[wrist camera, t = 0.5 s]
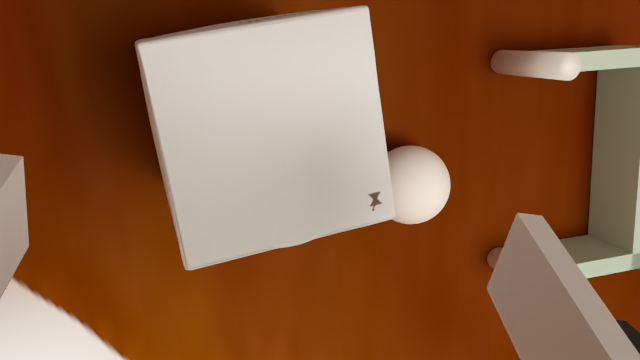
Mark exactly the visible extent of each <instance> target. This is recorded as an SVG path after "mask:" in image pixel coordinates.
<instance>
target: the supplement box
mask: <svg viewBox="0 0 640 360" xmlns="http://www.w3.org/2000/svg"><path fill="white" fill-rule="evenodd" d="M135 49H136V54H137V59H138V63H139V68H140V74H141V79H142V84H143V89H144V94H145V100H146V104H147V110H148V115H149V119H150V124H151V129H152V133H153V138H154V142H155V147H156V151H157V156H158V160H159V165H160V169H161V174H162V178H163V182H164V186H165V190H166V194H167V198H168V202H169V206H170V210H171V214H172V218H173V222H174V226H175V230H176V234H177V238H178V243H179V247H180V252H181V256H182V261H183V265H184V268H185V269H186V270H194V269H198V268H202V267H206V266H210V265H214V264H218V263H222V262H225V261H229V260H233V259H237V258H241V257H245V256H249V255H253V254H257V253H261V252H265V251H269V250H273V249H277V248H283V247H291V246H295V245H300V244H303V243H305V242H308V241H310V240H313V239H316V238H320V237H324V236H328V235H331V234H335V233H339V232H343V231H347V230H351V229H356V228H360V227H364V226H368V225H372V224H375V223H379V222H383V221H387V220H390V219H393V218H395V217H396V211H395V204H394V197H393V189H392V182H391V175H390V168H389V160H388V153H387V146H386V139H385V131H384V124H383V117H382V110H381V102H380V95H379V88H378V80H377V71H376V63H375V54H374V46H373V38H372V31H371V24H370V16H369V9H368V7H367V6H354V7H344V8H335V9H325V10H315V11H307V12H298V13H290V14H282V15H274V16H267V17H260V18H253V19H245V20H238V21H233V22H228V23H222V24H216V25H211V26H206V27H200V28H195V29H190V30H185V31H180V32H175V33H170V34H165V35H161V36H156V37H151V38H145V39H139V40H137V41H136V42H135Z"/></svg>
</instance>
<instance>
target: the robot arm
mask: <svg viewBox="0 0 640 360" xmlns="http://www.w3.org/2000/svg"><path fill="white" fill-rule="evenodd" d="M28 247H29V239H28V223H27V208H26V192H25V176H24V161H23V156H16V155H7V154H0V298H1V296H2V295H3V293H4V291H5V289H6V287H7V285H8V284H9V282H10V280H11V278H12V276H13V274H14V273H15V271H16V269H17V267H18V265H19V263H20V261H21V260H22V258H23V256H24V254H25V252H26V250H27V249H28ZM487 290H488V292H489V294H490V297H491V299H492V301H493V303H494V305H495V307H496V309H497V311H498V313H499V315H500V318H501V320H502V322H503V324H504V326H505V328H506V330H507V332H508V334H509V336H510V339H511V341H512V343H513V345H514V347H515V349H516V351H517V353H518V355H519V357H520V360H640V333H639V332H638V331H637V330H636V329H634V328H633V327H632V326H631V325H630V324H629V323H627V322H626V321H620V320H615V319H614V317H613V316H612V314H611V313H610V311H609V310H608V309H607V307H606V306H605V304H604V303H603V302H602V300H601V299H600V297H599V296H598V294H597V293H596V292H595V290H594V289H593V287H592V286H591V284H590V283H589V282H588V280H587V279H586V277H585V276H584V274H583V273H582V272H581V270H580V269H579V267H578V266H577V264H576V263H575V262H574V260H573V259H572V257H571V256H570V255H569V253H568V252H567V250H566V249H565V247H564V246H563V245H562V243H561V242H560V240H559V239H558V237H557V236H556V235H555V233H554V232H553V230H552V229H551V227H550V226H549V225H548V223H547V222H546V220H545V219H544V218H543V216H540V215H532V214H523V213H517V214H516V217H515V219H514V222H513V224H512V227H511V229H510V232H509V234H508V236H507V239H506V241H505V244H504V246H503V249H502V251H501V254H500V256H499V259H498V261H497V264H496V266H495V268H494V271H493V273H492V276H491V278H490V281H489V283H488V286H487Z"/></svg>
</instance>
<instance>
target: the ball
mask: <svg viewBox="0 0 640 360" xmlns="http://www.w3.org/2000/svg"><path fill="white" fill-rule="evenodd" d="M388 160H389V168H390V175H391V182H392V189H393V197H394V204H395V211H396V217H395V218H393V219H392V220H394V221H397V222H399V223H404V224H418V223H422V222H425V221H427V220H429V219H431V218H433V217H434V216H436V215H437V214H438V213H439V212H440V211H441V210H442V208H443V207H444V205H445V204H446V202H447V200H448V197H449V193H450V177H449V173H448V170H447V168H446V166H445V164H444V163H443V161H442V160H441V159H440V158H439V157H438V156H437V155H436V154H435V153H433V152H432V151H430V150H428V149H426V148H423V147H419V146H413V145H412V146H402V147H398V148H396V149H393V150H391V151H390V152H388Z"/></svg>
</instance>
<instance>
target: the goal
mask: <svg viewBox="0 0 640 360" xmlns="http://www.w3.org/2000/svg"><path fill="white" fill-rule="evenodd" d="M490 64H491V68H492V70H493V71H494V72H495V73H497V74H506V75H516V76H526V77H536V78H546V79H556V80H566V81H569V80H573V79H574V78H576V77H577V75H578V74H579V72H580V71H593V70H598V71H597V88H596V106H595V123H594V140H593V157H592V174H591V191H590V208H589V225H588V235H583V236H577V237H571V238H565V239H559V240H560V242H561V243H562V245H563V246H564V247H565V249H566V250H567V252H568V253H569V255H570V256H571V257H572V259H573V260H574V262H575V263H576V264H577V266H578V267H579V269H580V270H581V272H582V273H583V274H584V276H585V277H586V278H591V277H596V276H601V275H607V274H612V273H617V272H622V271H628V270H633V269H638V268H640V46H624V45H610V46H596V47H581V48H566V49H552V50H537V51H517V50H499V51H496V52H495V53H494V54H493V56H492V58H491V61H490ZM502 249H503V248H501V247H496V248H494V249H492V250H491V251H490V252H489V254H488V256H487V262H488V264H489V266H491V267H492V268H495V266H496V264H497V261H498V259H499V256H500V254H501V251H502Z"/></svg>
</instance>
